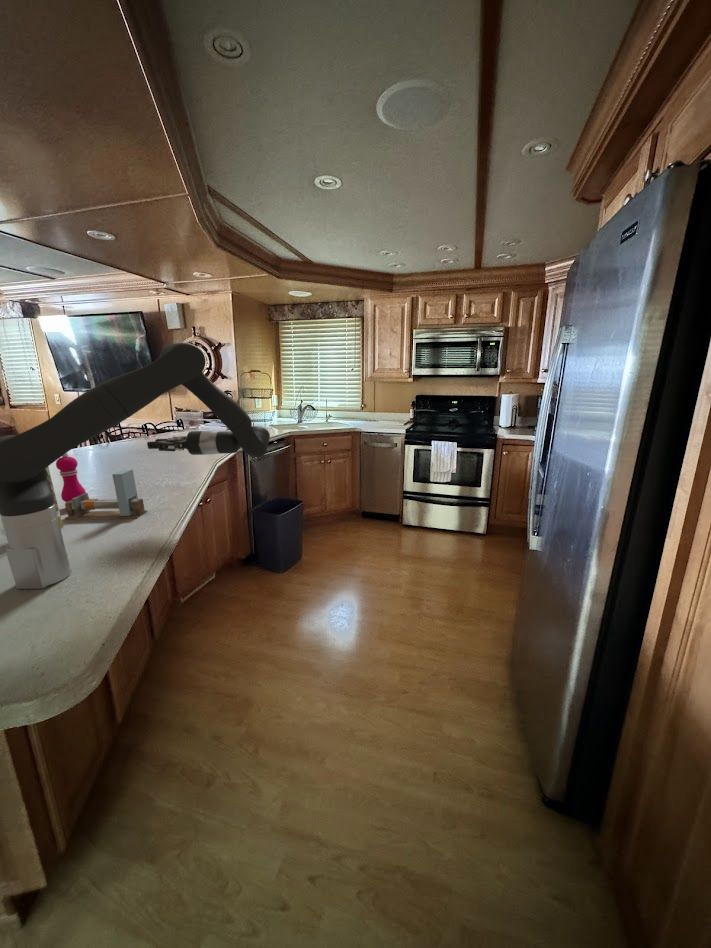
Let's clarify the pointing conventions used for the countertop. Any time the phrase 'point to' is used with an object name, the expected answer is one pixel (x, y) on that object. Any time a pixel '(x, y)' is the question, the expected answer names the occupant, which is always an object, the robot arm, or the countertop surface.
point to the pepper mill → (69, 478)
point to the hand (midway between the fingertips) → (152, 443)
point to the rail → (106, 513)
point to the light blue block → (125, 490)
